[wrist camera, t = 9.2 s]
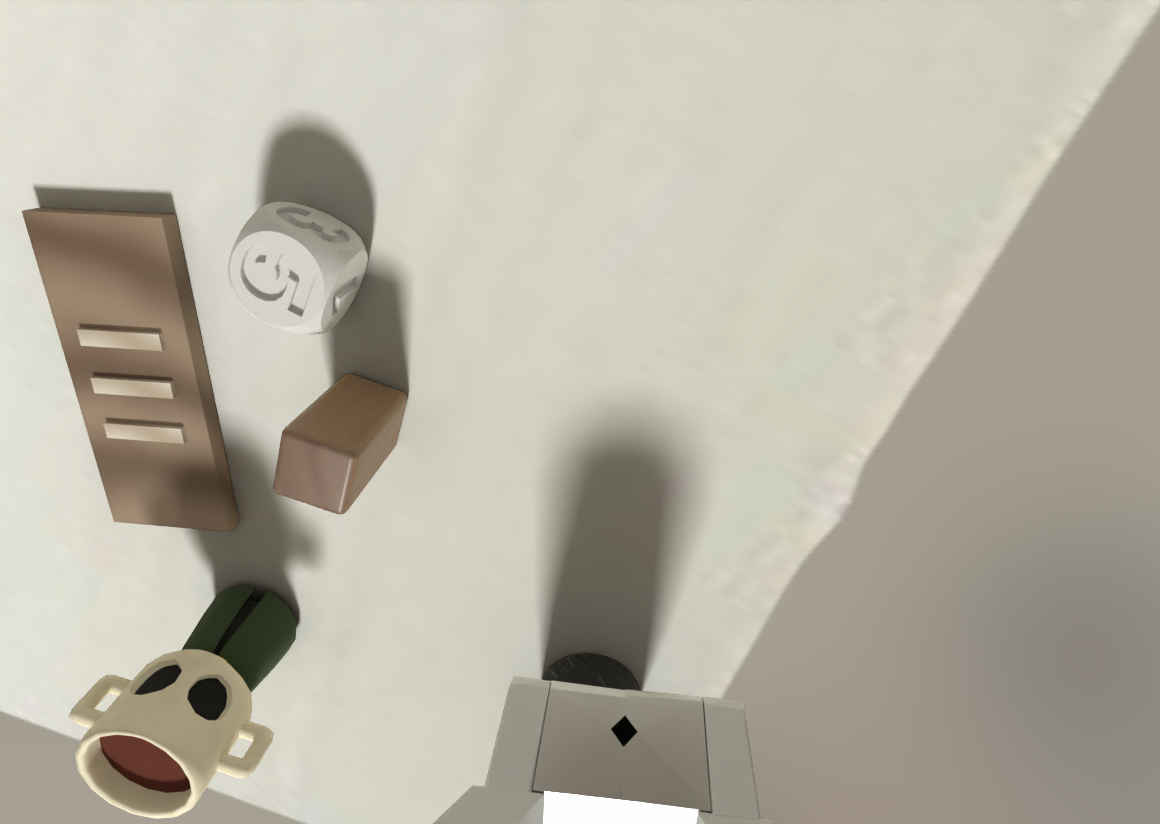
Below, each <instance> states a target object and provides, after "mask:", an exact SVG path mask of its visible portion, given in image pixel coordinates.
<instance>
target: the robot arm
mask: <svg viewBox="0 0 1160 824" xmlns="http://www.w3.org/2000/svg"><path fill="white" fill-rule="evenodd" d="M433 824H775V822H774V821H770V820H763V819H761V817H760V810H759V804H758V797H757V790H756V783H755V776H754V770H753V763H752V756H751V749H750V743H749V736H748V729H747V722H746V716H745V709H744V706H743V704H742V703H741V701H738V700H729V699H719V698H708V697H702V698H700V696H690V695H679V694H669V693H658V692H648V691H637V690H627V689H626V690H620V689H612V688H605V687H597V686H590V685H582V684H575V683H567V682H560V681H547V680H539V679H532V678H524V677H516V676H514V678H513V680H512V682H511V684H510V686H509V690H508V694H507V698H506V702H505V706H504V710H503V714H502V718H501V722H500V726H499V730H498V734H497V738H496V742H495V746H494V750H493V754H492V758H491V762H490V766H489V770H488V775H487V779H486V783H485V786H474V785H473V786H472V787H471V788H470V789H469V790H468V791H466V792H465V793H464V794H463V795H462V796H461V797H460V798H459V799H458V800H457V801H456V802H455V803H454V804H453V805H452V806H451V807H450V808H449V809H448V810H447V811H446V812H445V813H444V814H443V815H441V816H440V817H439V818H438V819H437V820H436V821H435V822H434V823H433Z"/></svg>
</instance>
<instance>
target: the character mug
mask: <svg viewBox="0 0 1160 824" xmlns="http://www.w3.org/2000/svg"><path fill="white" fill-rule="evenodd" d="M254 588H255V587H252V586H232V587H230V588H228V589H227V590H225V591H223V592H221V593H219V594H218V595H217V596H216V598H215V599H214V601H213V602H212V603H211V605H210V606H209V608H208V609H207V610H206V612H205V613H204V615H203V616H202V618H201V619H200V621H199V623H198V624H197V626H196V627H195V629H194V631H193V632H192V634H191V635H190V637H189V639H188V640H187V642H186V643H185V645H184V647H183V649H182V650H181V651H177V652H172V653H168V654H164V655H162V656H160V657H159V658H157V659H155V660H154V661H152V662H150V663H149V664H147V665H146V666H145V667H144V668H143V670H142V671H141V672H140V673H139V674H138V675H137V676H136V677H135V678H134V679H133V680H132V681H131V680H128V679H125V678H122V677H119V676H116V675H106V676H105V677H103V678H101V679H100V680H99V681H98V682H97V683H96V684H95V685H94V686H93V687H92V688H91V689H90V690H89V691H88V692H87V694H86V695H85V696H84V697H83V698H82V699H81V700H80V701H79V702H78V703H77V704H76V705H75V706H74V707H73V709H72V710H71V712H70V714H69V716H68V717H70V718H71V719H72V720H73V721H74V722H75V723H77V724H79V725H82V726H85V727H88V728H90V729H89V730H88V731H87V733H86V734H85V736H84V737H83V739H82V740H81V742H80V744H79V746H78V748H77V751H76V753H75V759H76V763H77V768H78V772H79V773H80V774H81V776H82V777H83V778H84V780H85V781H86V782H87V784H88V785H89V787H90V788H91V789H92V790H93V791H95V792H96V793H97V794H99V795H100V796H101V797H102V798H103V799H105V800H106V801H107V802H109V803H110V804H112V805H114V806H117V807H119V808H121V809H123V810H125V811H127V812H129V813H132V814H136V815H141V816H146V817H151V818H167V817H176V816H179V815H181V814H182V813H184V812H186V811H188V810H190V809H191V808H192V807H193V806H194V805H195V803H196V802H197V801H198V799H199V798H200V796H201V795H202V793H203V792H204V790H205V789H206V787H207V786H208V784H209V782H210V781H211V779H212V778H213V776H214V775H215V773H216V772H217V771H218V772H221V773H224V774H227V775H230V776H233V777H236V778H247V777H248V776H249V775H250V774H251V773H252V772H254V770H255V769H256V767H257V765H258V764H259V762H260V760H261V759H262V757H263V755H264V754H265V752H266V750H267V749H268V747H269V745H270V744H271V742H272V739H273V732H272V731H271V730H269V729H268V728H267V727H265V726H262V725H259V724H256V723H253V722H250V721H249V720H250V718H251V712H252V699H251V692H252V691H253V690H254V689H255V688H256V687H257V686H258V685H259V683H260V682H261V681H262V680H263V679H264V678H265V677H266V676H267V675H268V674H269V673H270V672H271V670H272V669H273V668H274V667H275V666H276V665H277V664H278V662H279V661H280V660H281V659H282V658H283V656H284V655H285V654H286V653H287V652H288V650H289V649H290V647H291V645H292V644H293V642H294V641H295V639H296V620H295V618H294V616H293V615H292V613H291V611H290V609H289V608H288V606H287V605H286V604H285V603H284V602H282V601H281V600H280V599H279V598H277V597H276V596H275V595H274V594H272V593H269V592H267V593H266V594H265V595H264V597H263V598H262V599H261V600H260V602H259V603H257V602H256V601H250V600H247V598H248V597H249V595H250V594H251V593H252V591H253V590H254ZM108 694H115V695H117V696H118V698H117V699H116V700H115V701H114V702H113V703H112V705H111V706H110V707H109V708H108V709H107V710H106V711H105V712H102V711H99V710H96V709H94V708H95V707H96V706H97V705H98V704H99V703H100V702H101V701H102V700H103V698H104V697H105V696H106V695H108ZM239 737H241V738H244V739H246V740H249V741H252V742H253V743H252V744H251V746H250V748H249V749H248V751H247V752H246V754H245V756H244V757H243V758H238V757H235V756H232V755H229V754H228V753H229V752H230V750H231V749H232V747H233V746H234V744H235V742H236V741H237V739H238V738H239Z"/></svg>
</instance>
